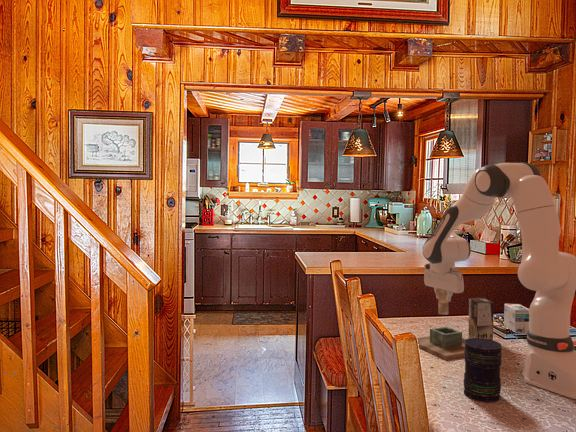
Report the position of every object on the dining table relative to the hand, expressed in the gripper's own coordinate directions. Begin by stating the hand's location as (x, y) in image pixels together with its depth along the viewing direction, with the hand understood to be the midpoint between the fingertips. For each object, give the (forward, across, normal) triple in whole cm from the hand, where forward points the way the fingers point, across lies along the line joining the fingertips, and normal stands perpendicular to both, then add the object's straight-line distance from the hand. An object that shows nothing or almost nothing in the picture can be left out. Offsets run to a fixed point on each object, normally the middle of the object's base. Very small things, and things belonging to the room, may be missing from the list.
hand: (443, 300), depth 197 cm
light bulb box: (+14, -13, -27) cm, 33 cm away
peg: (+6, 0, 0) cm, 6 cm away
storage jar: (+14, -54, +33) cm, 64 cm away
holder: (+13, -17, +14) cm, 26 cm away
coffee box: (+13, -16, -4) cm, 21 cm away
